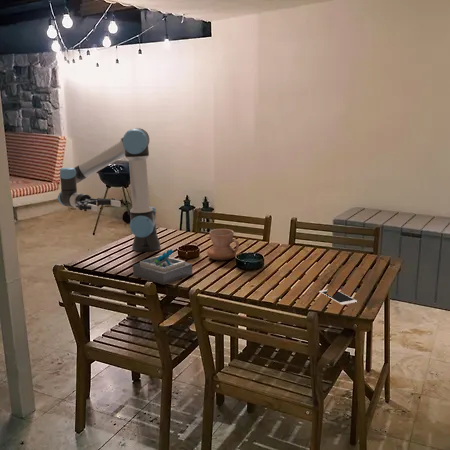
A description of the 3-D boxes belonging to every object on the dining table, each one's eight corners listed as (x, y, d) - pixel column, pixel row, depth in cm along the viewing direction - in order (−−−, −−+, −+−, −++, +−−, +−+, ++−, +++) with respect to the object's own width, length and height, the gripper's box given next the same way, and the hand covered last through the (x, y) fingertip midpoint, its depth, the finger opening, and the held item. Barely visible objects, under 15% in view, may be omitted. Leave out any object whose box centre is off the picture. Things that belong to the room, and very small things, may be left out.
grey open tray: (162, 266, 240) (161, 253, 239) (192, 274, 228) (192, 260, 227) (133, 275, 227) (132, 261, 225) (163, 284, 215) (163, 270, 213)
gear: (165, 257, 232) (174, 245, 225) (173, 266, 231) (182, 255, 224) (148, 265, 224) (157, 254, 217) (156, 276, 223) (165, 264, 216)
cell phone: (342, 306, 191) (342, 304, 191) (318, 292, 206) (318, 291, 206) (358, 303, 194) (358, 301, 194) (333, 289, 209) (334, 288, 209)
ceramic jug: (199, 259, 250) (199, 232, 247) (214, 252, 263) (214, 226, 259) (231, 265, 242) (231, 237, 239) (244, 257, 254) (245, 230, 251)
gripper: (102, 205, 255) (129, 210, 241) (59, 212, 236) (86, 218, 223) (101, 190, 253) (129, 194, 240) (58, 197, 234) (85, 202, 221)
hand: (108, 206), depth 231 cm, fingers open, 13 cm apart
